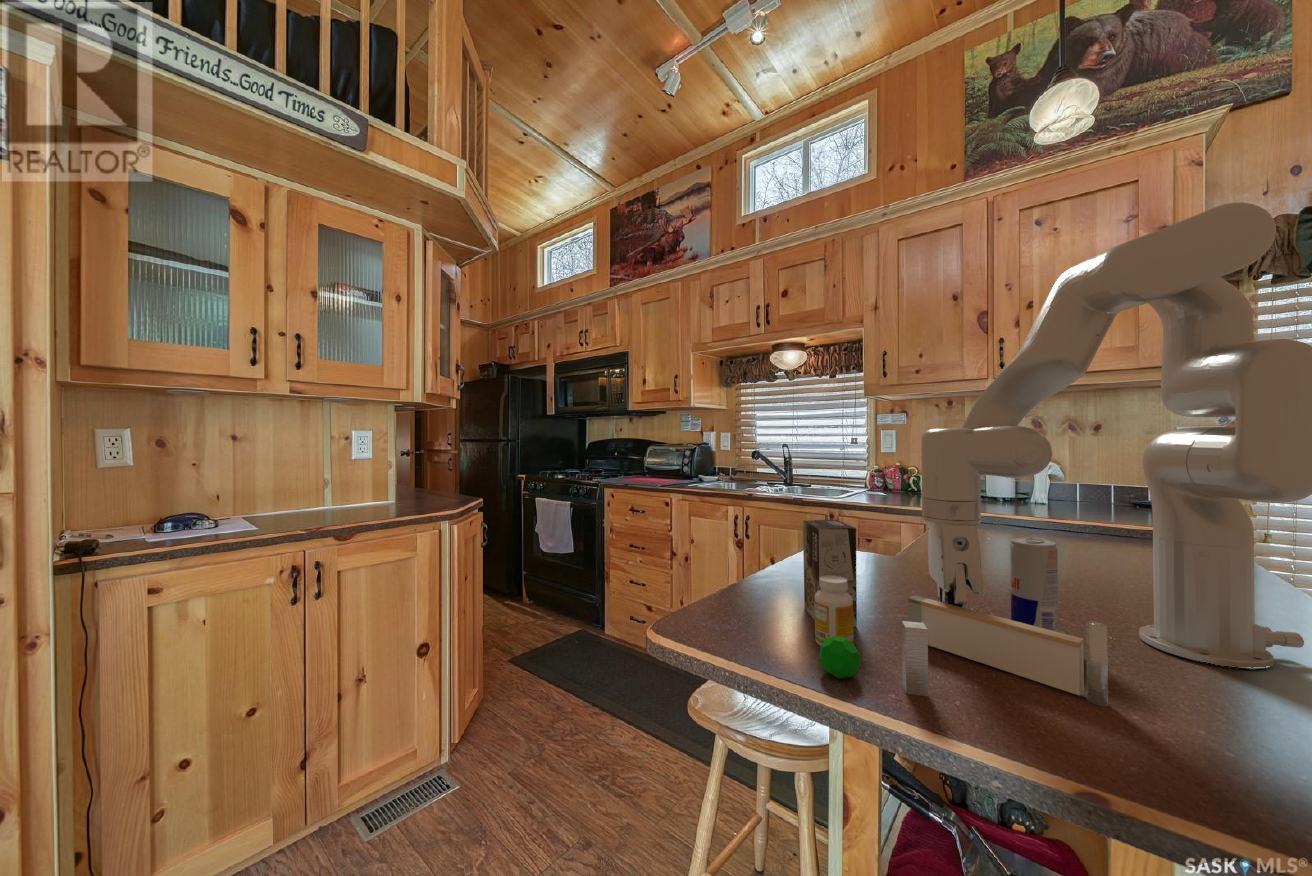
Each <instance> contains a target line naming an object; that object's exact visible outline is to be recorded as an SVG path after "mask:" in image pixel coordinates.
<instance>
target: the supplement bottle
mask: <svg viewBox="0 0 1312 876" xmlns="http://www.w3.org/2000/svg"><path fill="white" fill-rule="evenodd" d="M819 587H820V588H821V590H819V591H817V592H816V594H815V620H814V639H815V642H816V644H817V645H818V646H820V647H821V644H822V643H823V642H824V641H825V640H826V639H828V638H831V637H839V636H841V637H843V638H845V639H847V640H848V641H850V642H851V643H853V644H854V627H853V600H852V597H851V596H850V595H849V594H848V593H847V592H846V591H847V588H848V583H847V579H846V578H843V577H840V576H833V575H826V576H821V577H820V578H819Z"/></svg>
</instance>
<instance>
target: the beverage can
mask: <svg viewBox="0 0 1312 876" xmlns="http://www.w3.org/2000/svg"><path fill="white" fill-rule="evenodd" d="M1010 540H1011V541H1010V544H1009V548H1010V551H1009V555H1010V557H1009V558H1010V561H1009V562H1010V566H1009V567H1010V620H1013V621H1017V622H1021V623H1025V624H1028V625H1032V626H1036V627H1040V628H1044V629H1048V630H1052V631H1056V632H1059V581H1058V580H1059V579H1058V578H1059V573H1058V569H1059V566H1058V559H1059V558H1058V548H1057V543H1056V542H1055V541H1052V540H1047V539H1040V538H1034V537H1013V538H1012V539H1010Z"/></svg>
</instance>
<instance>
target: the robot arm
mask: <svg viewBox="0 0 1312 876" xmlns="http://www.w3.org/2000/svg"><path fill="white" fill-rule="evenodd" d="M1276 234H1277V225H1276V221H1275V219H1274V217H1273V216H1272V214H1271V213H1270V212H1269V211H1268V210H1267V209H1265V208H1263V207H1262V206H1259V205H1256V204H1254V203H1249V202H1231V203H1224V204H1221V205H1218V206H1215V207H1212V208H1210V209H1207V210H1205V211H1202V212H1199V213H1198V214H1195V215H1192V216H1190V217H1187V218H1185V219H1182V220H1181V221H1178V222H1176V223H1172V224H1170V225H1168V226H1165V227H1163V228H1160V229H1158V230H1155V231H1152V232H1150V233H1147V234H1144V235H1142V236H1139V237H1136V238H1133V239H1131V240H1128V241H1125V242H1123V243H1121V244H1118V245H1116V246H1113V247H1111V248H1109V249H1106V250H1105V251H1102V252H1099V253H1098V254H1096V255H1094V256H1092V257H1089V258H1087V259H1085V260H1082V261H1081V262H1078V263H1077V264H1074V265H1073V266H1071V267H1069V268H1068V269H1066V270H1065V271H1064V272H1063V273H1062V274H1060V276H1059V277H1057V280H1055V282H1054V284H1053V286H1052V287H1051V289H1050V291H1049V292H1048V294H1047V297H1046V298H1045V301H1044V302H1043V304H1042V306H1041V308H1040V310H1039V312H1038V314H1037V316H1036V318H1035V319H1034V322H1033V324H1032V325H1031V328H1030V330H1029V332H1028V333H1027V336H1026V337H1025V339H1024V341H1023V343H1022V345H1021V347H1020V349H1019V351H1017V354H1016V355H1015V357H1014V358H1013V359H1012V360H1011V361H1010V362H1009V363H1008V364H1007V365H1006V366H1005V367H1004V368H1003V370H1001V372H1000V373H999V374H998V375H997V376H996V378H994V380H993V381H992V382H990V384H989V385H988V387H986V388H985V390H983V392H982V393H981V394H980V396H979V397H978V398H977V399H976V402H975V403H974V404H973V406H971V409H970V411H969V413H968V414H967V417H966V419H965V421H964V423H963V425H962V427H953V428H952V427H951V428H950V427H949V428H948V427H946V428H945V427H944V428H941V427H940V428H931V429H927V430H926V431H924V432H923V433H922V437H921V445H920V446H921V450H920V451H921V452H920V453H921V519H922V520H923V521H926V522H928V527H927V528H928V536H927V538H928V539H927V549H928V550H927V555H928V556H927V560H928V561H927V563H928V564H927V565H928V572H929V575H930V577H931V578H932V579H933V581H934V582H935V583H936V585H937V601H939V602H943V603H947V604H951V605H955V606H959V607H962V608H966V605H968V597H967V596H968V595H967V588H968V589H969V590H970V591H971V592H972V593H974V594H975V595H981V594H982V592H983V575H982V573H983V571H982V562H981V561H982V557H981V546H980V537H979V531H978V524H981V523H982V516H981V515H982V511H981V509H982V508H981V506H982V505H981V504H982V503H981V497H982V496H981V495H982V494H981V491H982V490H981V486H982V485H981V479H982V478H981V476H992V477H1002V478H1007V479H1008V478H1009V479H1025V478H1030V477H1033V476H1035V475H1038V474H1039V473H1042V472H1043V471H1044V470H1045V469H1046V468H1047V467H1048V466H1049V465H1050V463H1051V461H1052V457H1053V447H1052V444H1051V443H1050V441H1049V439H1047V437H1046V436H1045V434H1043V433H1041V432H1039V431H1038V430H1036V429H1033V428H1030V427H1026V426H1023V425H1022V426H1021V425H1020V424H1021V422H1022V421H1023V419H1024V418H1025V417H1026V416H1027V415H1028V414H1029V412H1030V413H1031V411H1032V410H1033V409H1034V408H1035V407H1036V406H1038V405H1039V404H1041V403H1042V402H1043V401H1045V400H1046V399H1048V398H1050V397H1052V396H1053V395H1055V394H1057V393H1059V392H1060V391H1062V390H1064V389H1066V388H1067V387H1069V386H1070V385H1072V384H1073V383H1075V382H1076V381H1077V380H1079V379H1081V378H1082V377H1083V376H1084V375H1085V374H1086V373H1087V371H1088V369H1089V367H1090V366H1091V363H1092V361H1093V360H1094V359H1095V356H1096V354H1097V353H1098V351H1099V348H1100V346H1101V345H1102V343H1103V340H1104V339H1105V337H1106V335H1107V334H1108V331H1109V329H1110V328H1111V326H1112V324H1113V323H1114V320H1115V318H1116V317H1117V315H1118V314H1119V313H1120V312H1122V311H1126V310H1130V309H1133V308H1136V307H1140V306H1143V305H1146V304H1148V305H1149V306H1150V307H1151V308H1152V309H1153V310H1154V311H1155V313H1156V314H1157V316H1158V317H1159V319H1160V322H1161V326H1162V340H1163V342H1162V354H1161V355H1162V356H1161V357H1162V358H1161V371H1160V372H1161V374H1160V375H1161V376H1160V377H1161V378H1160V397H1161V400H1162V403H1163V405H1164V407H1165V408H1166V409H1167V410H1168V411H1169V412H1172V413H1173V414H1174V415H1178V416H1181V417H1186V418H1187V417H1188V418H1229V417H1230V418H1231V417H1234V419H1235V422H1234V423H1235V426H1208V427H1207V426H1199V427H1198V426H1197V427H1196V426H1194V427H1183V428H1177V429H1173V430H1169V431H1167V432H1164V433H1161V434H1160V435H1158V436H1156V437H1154V438H1153V439H1152V440H1151V441H1150V442H1149V443H1148V444H1147V446H1146V448H1145V450H1144V452H1143V455H1142V469H1143V473H1144V477H1145V481H1146V484H1147V487H1148V491H1149V496H1150V500H1151V509H1152V510H1151V511H1152V557H1153V558H1152V559H1153V560H1152V563H1153V564H1152V566H1153V569H1152V572H1153V573H1152V574H1153V575H1152V576H1153V577H1152V578H1153V579H1152V580H1153V581H1152V582H1153V586H1152V587H1153V624H1149V625H1148V624H1147V625H1144V626H1141V627H1140V628H1139V630H1138V631H1139V633H1138V636H1139V638H1140V639H1141V640H1142V641H1143V642H1144V643H1145V644H1147V645H1149V646H1151V647H1153V648H1155V649H1158V650H1159V651H1160V650H1161V651H1163V652H1164V653H1165V652H1166V653H1168V654H1171V655H1174V656H1177V657H1180V658H1183V659H1184V658H1185V659H1187V660H1192V661H1194V662H1199V661H1200V662H1199V663H1203V662H1207V663H1206V664H1208V663H1211V664H1210V665H1212V664H1215V665H1214V666H1218V665H1220V666H1219V667H1224V666H1230V667H1229V668H1231V667H1251V668H1253V667H1266V666H1272V665H1273V666H1274V664H1275V663H1274V662H1275V661H1274V655H1273V654H1272V653H1271V652H1270V651H1268V650H1267V649H1266V648H1272V647H1273V646H1275V645H1276V646H1280V647H1287V648H1299V649H1300V648H1303V647H1304V646H1305V641H1304V638H1303V636H1301V634H1300V633H1298V632H1292V631H1281V630H1280V631H1279V630H1278V631H1277V630H1276V631H1272V629H1271V628H1270V627H1269V626H1261V625H1259V624H1257V623H1255V622H1256V618H1255V617H1256V616H1255V612H1256V611H1255V606H1256V605H1255V533H1254V532H1255V531H1254V527H1253V523H1252V520H1251V518H1250V516H1249V513H1248V512H1247V510H1246V509H1245V507H1244V505H1243V503H1242V502H1241V500H1244V501H1251V502H1263V503H1274V504H1275V503H1276V504H1278V503H1281V504H1282V503H1291V502H1293V503H1294V502H1298V501H1300V500H1301V501H1302V500H1303V499H1307V498H1309V497H1310V496H1311V495H1312V345H1310V344H1308V343H1306V342H1303V341H1301V340H1294V339H1287V338H1278V339H1274V338H1272V339H1266V340H1259V341H1255V336H1254V332H1255V331H1254V312H1253V311H1254V310H1253V307H1252V305H1251V303H1250V301H1249V299H1248V297H1246V295H1245V294H1244V293H1243V292H1242V291H1241V290H1239V289H1238V288H1237V287H1236V286H1235V285H1233V284H1232V283H1230V282H1229V281H1227V280H1226V279H1224V278H1223V276H1227V275H1229V274H1231V273H1234V272H1237V271H1239V270H1243V269H1245V268H1247V267H1249V266H1251V265H1252V264H1254V263H1255V262H1257V261H1259V260H1260V259H1261V258H1262V257H1263V256H1265V254H1266V253H1267V252H1268V250H1269V249H1270V248H1271V247H1272V245H1273V243H1274V241H1275V238H1276ZM1019 425H1020V426H1019ZM1273 666H1272V667H1273Z"/></svg>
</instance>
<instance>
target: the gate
mask: <svg viewBox="0 0 1312 876" xmlns="http://www.w3.org/2000/svg"><path fill="white" fill-rule="evenodd" d="M907 599H908V600H907V603H908V607H907V608H908V611H907V612H908V616H907V617H908V622H919V623H924V624H925V626H926V627H927V629H928V647H933V648H935V649H939V650H942V651H944V652H948V653H951V654H953V655H956V656H960V657H962V658H965V659H968V660H972V661H973V662H974V661H975V662H978V663H981V664H984V665H986V666H990V667H993V668H996V669H998V670H1002V671H1005V672H1008V673H1011V674H1014V675H1017V676H1019V677H1023V678H1026V679H1029V680H1032V681H1035V682H1038V683H1040V684H1044V685H1046V686H1048V687H1049V686H1050V687H1053V688H1055V689H1059V690H1061V691H1064V692H1067V693H1071V694H1074V695H1077V696H1081V695H1082V694H1083V693H1084V691H1085V690H1084V689H1085V688H1084V687H1085V682H1084V681H1085V680H1084V679H1085V678H1084V676H1085V675H1084V673H1085V672H1084V671H1085V670H1084V667H1085V666H1084V643H1085V639H1084V638H1083V637H1080V636H1079V637H1078V636H1075V635H1071V634H1066V633H1063V632H1059V631H1058V632H1056V631H1052V630H1048V629H1044V628H1040V627H1036V626H1032V625H1028V624H1025V623H1021V622H1017V621H1013V620H1011V619H1009V618H1005V617H1000V616H997V615H993V614H989V613H985V612H982V611H977V610H974V609H969V608H966V607H965V608H962V607H959V606H955V605H951V604H947V603H943V602H939V601H938V600H935V599H931V598H928V597H923V596H919V595H912V596H909V597H908V598H907Z"/></svg>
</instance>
